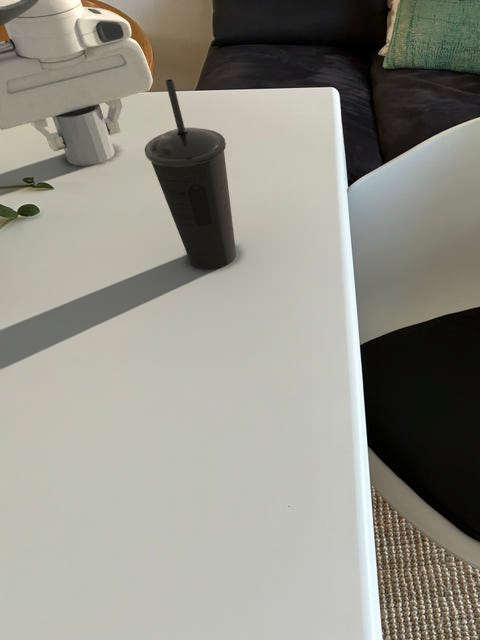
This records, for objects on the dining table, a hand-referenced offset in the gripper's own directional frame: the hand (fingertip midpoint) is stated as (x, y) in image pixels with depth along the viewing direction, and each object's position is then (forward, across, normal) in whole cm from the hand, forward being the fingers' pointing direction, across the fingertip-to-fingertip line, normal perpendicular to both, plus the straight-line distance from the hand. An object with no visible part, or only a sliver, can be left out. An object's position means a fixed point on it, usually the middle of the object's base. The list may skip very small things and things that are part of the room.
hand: (86, 140), depth 102 cm
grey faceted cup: (+3, 0, 0) cm, 3 cm away
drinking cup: (+3, 0, -33) cm, 33 cm away
